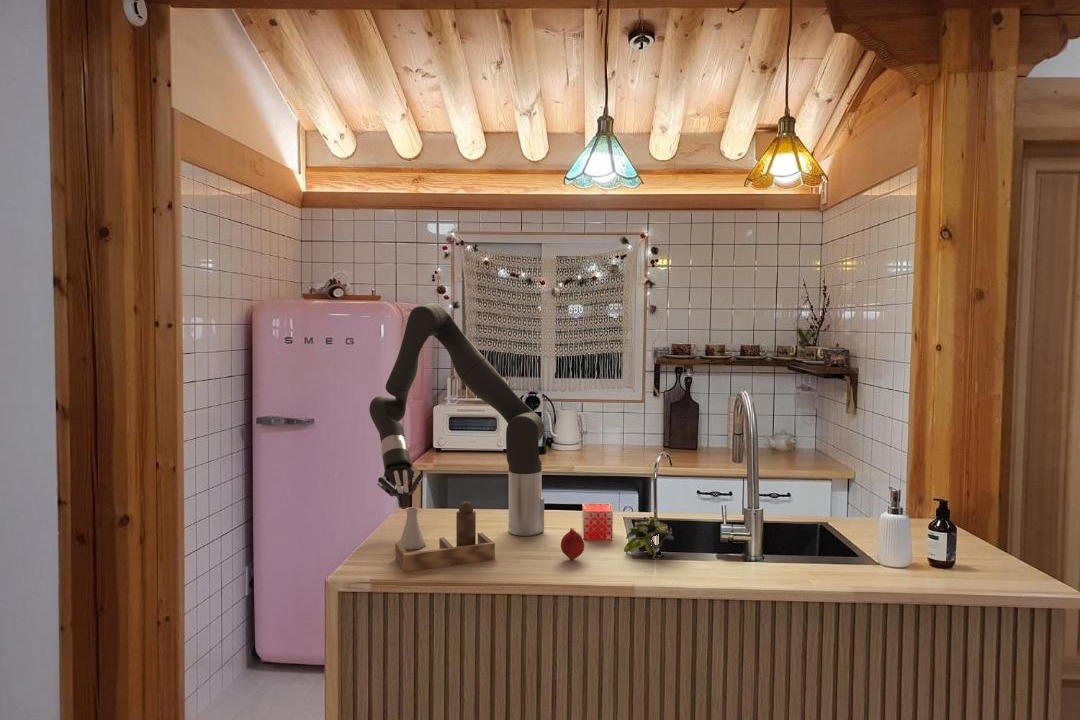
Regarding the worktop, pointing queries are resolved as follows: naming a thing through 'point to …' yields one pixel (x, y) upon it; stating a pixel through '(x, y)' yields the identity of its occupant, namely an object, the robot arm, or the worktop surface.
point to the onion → (572, 544)
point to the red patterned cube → (597, 522)
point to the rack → (445, 554)
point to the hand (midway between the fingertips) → (404, 507)
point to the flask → (412, 531)
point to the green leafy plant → (648, 535)
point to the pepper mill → (465, 525)
